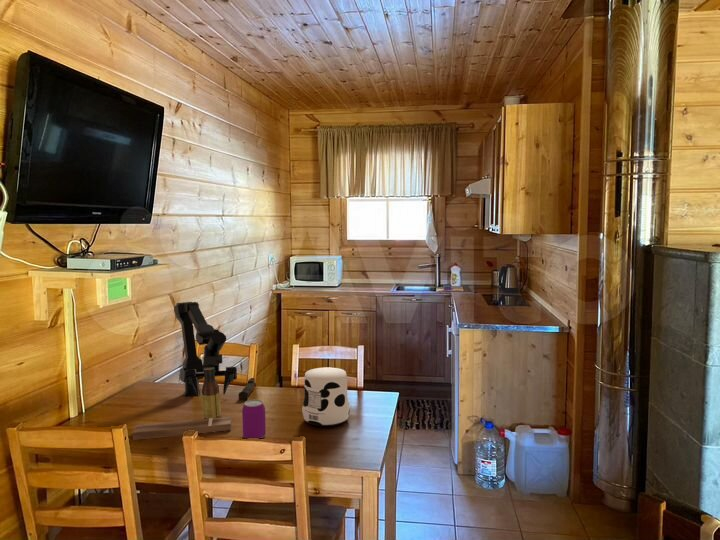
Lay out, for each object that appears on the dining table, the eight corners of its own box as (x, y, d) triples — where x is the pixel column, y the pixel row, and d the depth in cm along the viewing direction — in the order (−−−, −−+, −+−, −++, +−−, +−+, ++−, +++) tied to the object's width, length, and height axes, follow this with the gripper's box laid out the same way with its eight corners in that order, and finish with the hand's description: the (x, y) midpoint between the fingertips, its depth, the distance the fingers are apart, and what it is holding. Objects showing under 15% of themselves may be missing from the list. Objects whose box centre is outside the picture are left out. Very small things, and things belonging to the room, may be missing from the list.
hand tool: (247, 401, 213) (247, 390, 213) (238, 401, 214) (238, 390, 213) (259, 386, 232) (259, 376, 232) (250, 386, 232) (250, 376, 232)
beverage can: (269, 433, 180) (268, 399, 179) (260, 442, 173) (259, 407, 172) (248, 431, 182) (247, 397, 181) (239, 440, 175) (238, 405, 173)
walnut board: (137, 431, 182) (136, 424, 182) (231, 423, 189) (231, 416, 189) (133, 440, 176) (132, 432, 175) (230, 430, 182) (230, 423, 182)
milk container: (346, 411, 201) (345, 365, 199) (353, 428, 184) (352, 378, 182) (301, 414, 198) (300, 367, 196) (304, 432, 181) (303, 381, 179)
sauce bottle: (215, 415, 197) (214, 364, 195) (224, 419, 193) (222, 367, 191) (199, 419, 193) (197, 367, 191) (207, 424, 188) (206, 371, 186)
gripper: (183, 348, 192) (181, 386, 182) (235, 345, 196) (236, 382, 186) (187, 363, 200) (185, 401, 191) (236, 360, 204) (237, 397, 195)
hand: (210, 395), depth 190 cm, fingers open, 9 cm apart
